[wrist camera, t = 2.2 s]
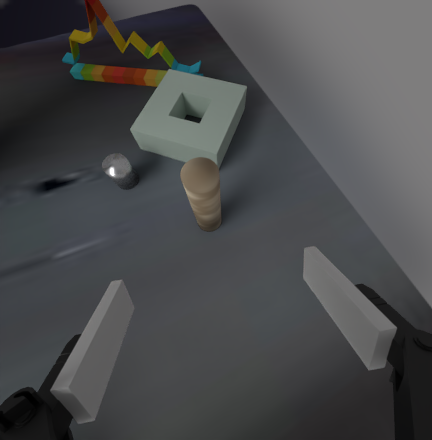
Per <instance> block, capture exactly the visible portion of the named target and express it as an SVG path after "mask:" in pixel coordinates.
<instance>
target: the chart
mask: <svg viewBox="0 0 432 440" xmlns="http://www.w3.org/2000/svg"><path fill="white" fill-rule="evenodd" d="M85 4H86V10H87V15H88V21H89V26H90V32H89V33H85V32H81V31H78V30H74V31H73V33H72V34H71V36H70V37H69V41H70V46H71V51H72V54H71V53H66V55H65V56H64V58H63V59H62V61H63V62H65V63H69V64H73V65H74V66H73V67H72V69H71V70H70V73H71V74H72V76H73V77H74V79H80V80H91V81H102V82H113V83H124V84H134V85H145V86H156V87H158V85H159V84H160V82H161V81H162V79H163V78H164V76H165V75H166V73H167V72H168V71H162V70H150V69H138V68H126V67H114V66H102V65H91V64H81V63H77V61H78V60H79V58H80V54H79V48H78V42H79V43H86V42H88V41H90V40H92V39H93V38H94V36H95V34H96V33H97V31H98V30H97V23H96V17H95V13H96V14H97V16H98V17H99V19H100V20H101V22H102V23H103V25H104V26H105V28H106V29H107V31H108V32H109V34H110V35H111V37H112V38H113V40H114V42H115V43H116V45H117V46H118V48H119V49H120V51H121V52H122V54H123V52H124V51H125V49H126V47H127V46H128V44H129V43H130V42H131V43H132V44H133V45H134V46H135V47H136V48H137V49H138V50H139V51H140V52H141V53H142V54H143V55H144V56H145V57H147V58H148V59H149V58H150V57H152V56H153V55H154V54H155V53H157V52H159V54H160V55H161V56H162V57H163V59H164V60H165V61H166V62H167V64H168V65H169V66H170V67H171V69H172V70H176V71H180V72H185V73H189V74H194V75H199V76H203V74H198V73H196V72H198V71H199V69H200V65H201V61H200V62H198V63H196V64H194V65H192V66H186V65H183V64H179V63H178V62H177V61H176V60H175V59H174V57H173V56H172V54H171V53H170V52H169V51H168V49H167V48H166V47H165V45H164V44H163V43H162V41H160V42H159V43H158V44H156V45H155V46H154V47H153V48H152V49H151V48H150V47H149V46H148V45H147V44H146V43H145V42H144V41H143V40H142V39H141V38H140V37H139V36H138V35H137V34H136V33H135V32H134V31H133V33H132V34H131V36H130V38H129V39H128V41H127V43H126V42H125V41H124V39H123V37H122V36H121V34H120V33H119V31H118V30H117V28H116V26H115V25H114V23H113V22H112V20H111V19H110V17H109V15H108V14H107V12H106V10H105V9H104V7H103V6H102V4H101V3H100V1H99V0H85Z"/></svg>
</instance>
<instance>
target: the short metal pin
mask: <svg viewBox="0 0 432 440" xmlns="http://www.w3.org/2000/svg"><path fill="white" fill-rule="evenodd" d="M102 168H103V170H104V172H105V173H106V174H107V175H108V176H109V177H110V178H111V179H112V180H113V181H114V182H115V183H116V184H117V185H118V186H119V187H120V188H121V189H124V190H128V189H132V188H134V187H135V186H136V185H137V183H138V181H139V176H138V174H137V173H136V171H135V170H134V169H133V167H132V166H131V164H130V163H129V162H128V160H127V159H126V157H125V156H124V155H122V154H118V153H115V154H111V155H109V156H108V157H106V158H105V160H104V161H103V163H102Z"/></svg>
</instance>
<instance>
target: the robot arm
mask: <svg viewBox="0 0 432 440" xmlns="http://www.w3.org/2000/svg"><path fill="white" fill-rule="evenodd" d="M303 278H304V280H305V281H306V283H307V284H308V285H309V287H310V288H311V290H312V291H313V292H314V294H315V295H316V297H317V298H318V299H319V301H320V302H321V304H322V305H323V307H324V308H325V309H326V311H327V312H328V314H329V315H330V316H331V318H332V319H333V321H334V322H335V323H336V325H337V326H338V328H339V329H340V330H341V332H342V333H343V335H344V336H345V337H346V339H347V340H348V342H349V343H350V344H351V346H352V347H353V349H354V350H355V351H356V353H357V354H358V356H359V357H360V359H361V360H362V361H363V363H364V364H365V366H366V367H367V368H368V370H373V369H379V368H384V367H385V365H386V361H387V360H388V361H389V362H390V364H391V365H392V366H393V367H394V368H393V371H392V374H391V377H390V382H393V395H394V422H395V440H432V334H430V333H427V332H425V331H421V330H417V329H415V328H414V327H413V326H412V325H411V324H410V323H409V322H407V321H406V320H405V319H404V318H403V317H402V316H401V315H400V314H399V313H398V312H397V311H395V310H394V309H393V308H392V307H391V306H390V305H389V304H387V302H386V301H384V300H383V299H382V298H380V296H379V295H378V294H377V293H376V292H375V291H374V290H372V289H371V288H369V287H367V286H365V285H363V284H357V285H353V284H352V283H351V282H350V281H349V280H348V279H347V278H346V277H345V276H344V275H343V274H342V273H341V272H340V271H339V270H338V269H337V268H336V267H335V266H334V265H333V264H332V263H331V262H330V261H329V260H328V259H327V258H326V257H325V256H324V255H323V254H322V253H321V252H320V251H319V250H318V249H317V248H316V247H315V246H312V247H307V248H304V271H303ZM133 311H134V306H133V303H132V301H131V299H130V296H129V294H128V292H127V289H126V287H125V285H124V282H123V280H117V281H112V282H111V283H110V285H109V287H108V289H107V290H106V292H105V294H104V296H103V298H102V299H101V301H100V303H99V305H98V306H97V308H96V310H95V312H94V313H93V315H92V317H91V319H90V321H89V322H88V324H87V326H86V328H85V329H84V331H83V333H82V334H79V335H75V336H74V337H73V338H72V339H71V340H70V341H69V342H68V343H67V345H66V346H65V348H64V349H63V351H62V353H61V356H59V358H58V359H57V361H56V364H55V365H54V366H53V368H52V369H51V371H50V372H49V374H48V376H47V377H46V379H45V381H44V382H43V384H42V386H41V387H40V389H39V391H38V392H36V391H35V390H34V389H33V388H31V387H26V388H23V389H20V390H19V391H17V392H15V393H13V394H12V395H11V396H10V397H9V398H7V399H6V400H5V401H4V402H3V403H2V404H1V406H0V440H73V436H72V432H71V430H70V428H69V425H70V423H71V421H72V418H74V419H75V421H76V422H77V423H78V424H80V423H86V422H91V421H95V418H96V416H97V413H98V410H99V407H100V404H101V401H102V399H103V396H104V393H105V390H106V387H107V384H108V382H109V379H110V376H111V373H112V370H113V367H114V365H115V362H116V359H117V356H118V353H119V350H120V348H121V345H122V342H123V339H124V336H125V333H126V330H127V328H128V325H129V322H130V319H131V316H132V313H133Z"/></svg>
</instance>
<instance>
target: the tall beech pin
mask: <svg viewBox="0 0 432 440" xmlns="http://www.w3.org/2000/svg"><path fill="white" fill-rule="evenodd" d="M180 175H181V180H182V183H183V185H184V188H185V191H186V193H187V196H188V198H189V201H190V204H191V206H192V209H193V212H194V214H195V217H196V220H197V222H198V225H199V227H200V228H201V229H202V230H204V231H207V232H211V231H215V230H216V229H218V228H219V226H220V225H221V200H220V180H219V169H218V166H217V165H216V163H215V162H214V161H212V160H211V159H208V158H205V157H197V158H193V159H191V160H189V161H188V162H186V163H185V164H184V166H183V167H182V169H181V174H180Z"/></svg>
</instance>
